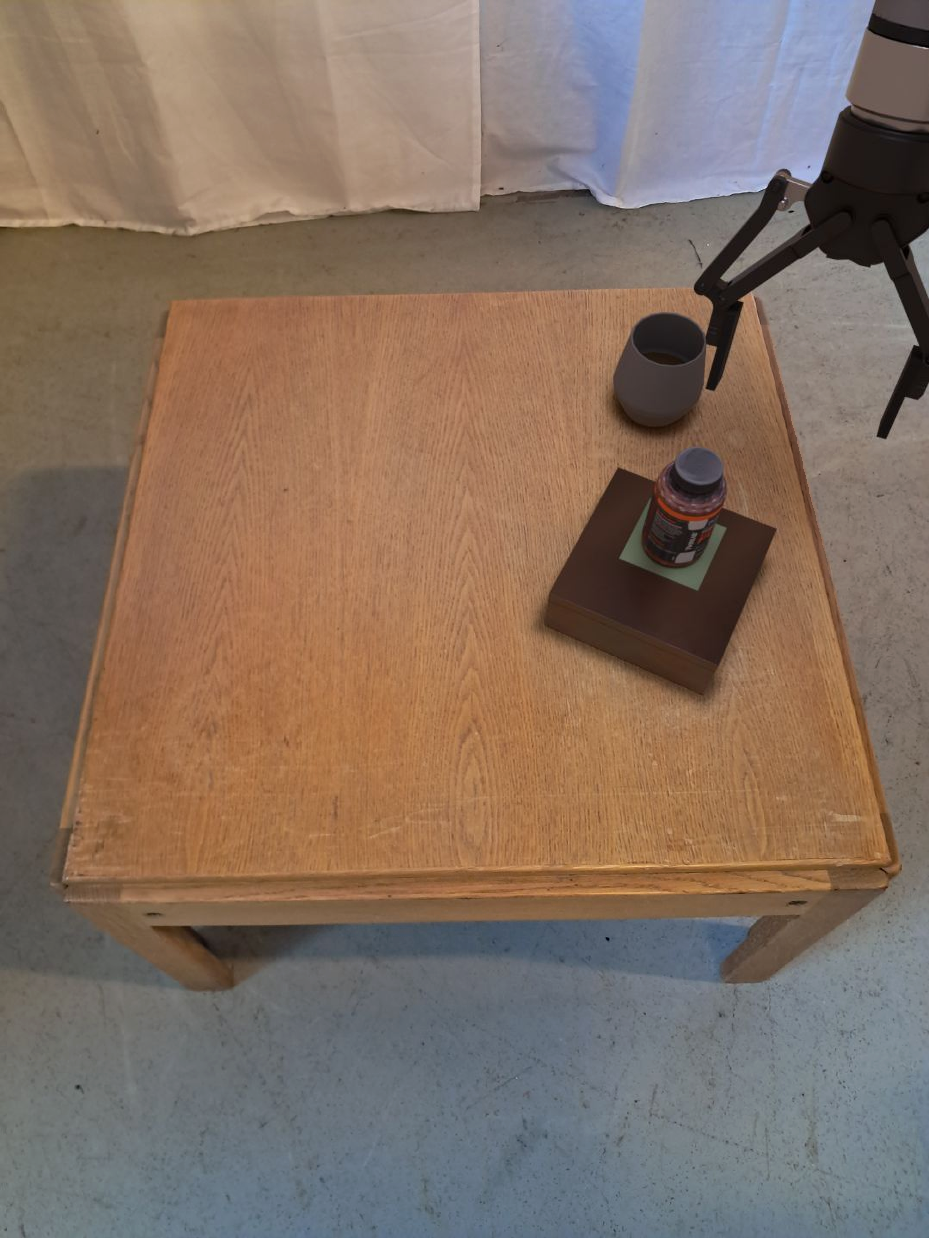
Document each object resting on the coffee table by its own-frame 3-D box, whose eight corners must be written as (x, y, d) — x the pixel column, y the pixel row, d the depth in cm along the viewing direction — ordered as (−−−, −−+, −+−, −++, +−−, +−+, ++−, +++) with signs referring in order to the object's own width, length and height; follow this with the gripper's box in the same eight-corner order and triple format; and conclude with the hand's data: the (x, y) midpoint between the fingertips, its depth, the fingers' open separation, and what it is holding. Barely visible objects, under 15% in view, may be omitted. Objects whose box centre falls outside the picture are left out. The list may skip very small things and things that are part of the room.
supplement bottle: (699, 576, 82) (730, 502, 72) (634, 561, 83) (656, 485, 73) (710, 524, 85) (741, 445, 75) (647, 509, 86) (669, 430, 76)
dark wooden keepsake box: (759, 563, 90) (777, 527, 84) (703, 695, 83) (719, 665, 78) (610, 503, 94) (618, 465, 88) (544, 625, 87) (548, 592, 81)
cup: (604, 435, 98) (617, 367, 89) (611, 371, 102) (624, 301, 94) (693, 445, 97) (715, 378, 88) (696, 380, 102) (717, 310, 93)
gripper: (1110, 138, 58) (962, 428, 72) (725, 68, 64) (660, 346, 79) (1117, 170, 53) (955, 475, 67) (698, 91, 59) (634, 384, 74)
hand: (796, 406), depth 73 cm, fingers open, 13 cm apart
